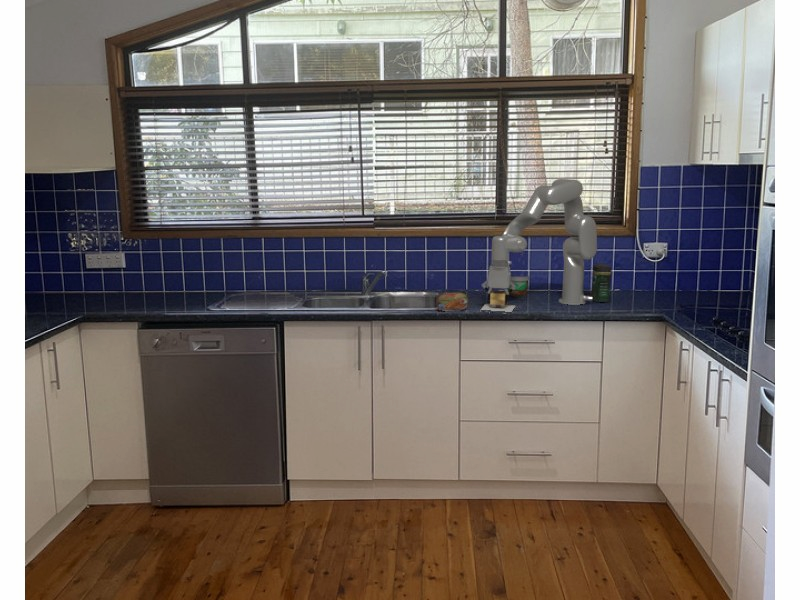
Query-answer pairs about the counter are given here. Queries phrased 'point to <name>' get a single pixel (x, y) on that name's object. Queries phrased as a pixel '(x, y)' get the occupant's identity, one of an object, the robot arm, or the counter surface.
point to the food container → (519, 285)
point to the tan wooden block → (497, 298)
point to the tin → (452, 301)
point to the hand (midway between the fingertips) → (498, 301)
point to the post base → (503, 308)
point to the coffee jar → (601, 282)
